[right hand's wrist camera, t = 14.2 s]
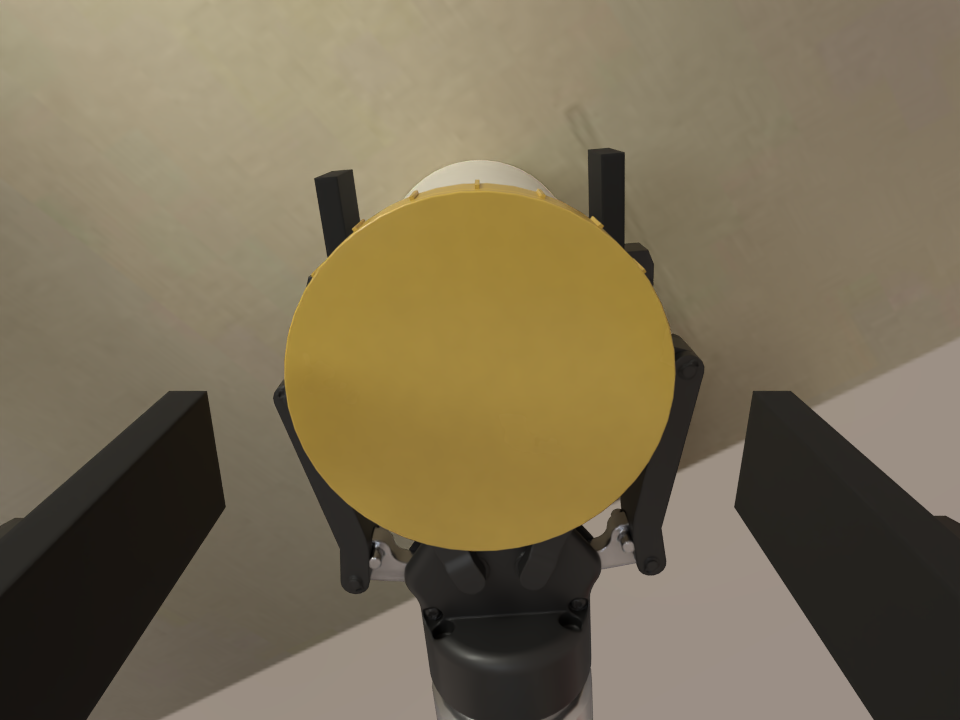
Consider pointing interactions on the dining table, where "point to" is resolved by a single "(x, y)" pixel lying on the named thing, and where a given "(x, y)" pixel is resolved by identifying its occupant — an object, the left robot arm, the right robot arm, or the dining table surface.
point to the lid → (479, 368)
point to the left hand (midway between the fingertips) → (468, 162)
